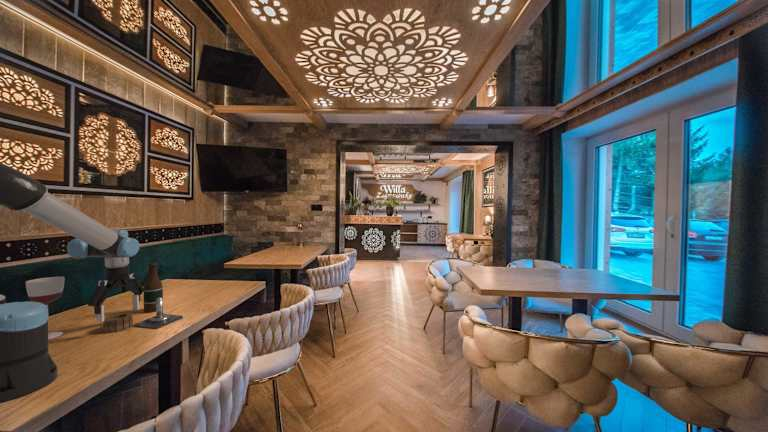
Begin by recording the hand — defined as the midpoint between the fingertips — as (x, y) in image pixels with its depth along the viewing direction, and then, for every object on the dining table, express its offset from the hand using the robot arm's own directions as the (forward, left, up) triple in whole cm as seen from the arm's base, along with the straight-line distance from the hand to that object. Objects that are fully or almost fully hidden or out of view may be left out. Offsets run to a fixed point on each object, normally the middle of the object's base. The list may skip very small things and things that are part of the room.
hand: (119, 315), depth 122 cm
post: (+9, -11, -6) cm, 15 cm away
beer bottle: (+21, +7, -6) cm, 22 cm away
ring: (0, 0, -6) cm, 6 cm away
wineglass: (-12, +19, -6) cm, 23 cm away
